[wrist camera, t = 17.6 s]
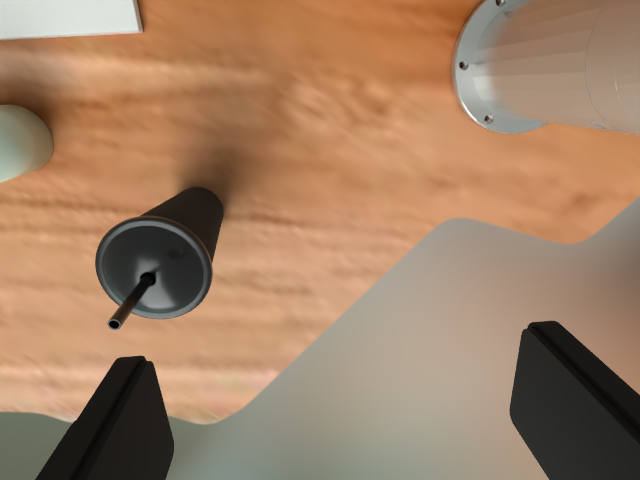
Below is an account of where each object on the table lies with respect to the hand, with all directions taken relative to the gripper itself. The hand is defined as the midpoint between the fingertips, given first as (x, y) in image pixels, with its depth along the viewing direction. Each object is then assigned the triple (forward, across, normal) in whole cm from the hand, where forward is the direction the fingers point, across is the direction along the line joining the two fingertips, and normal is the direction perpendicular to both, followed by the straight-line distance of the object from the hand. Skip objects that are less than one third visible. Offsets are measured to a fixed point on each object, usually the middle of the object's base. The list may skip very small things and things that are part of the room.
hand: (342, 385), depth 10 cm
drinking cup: (+31, +11, +4) cm, 33 cm away
